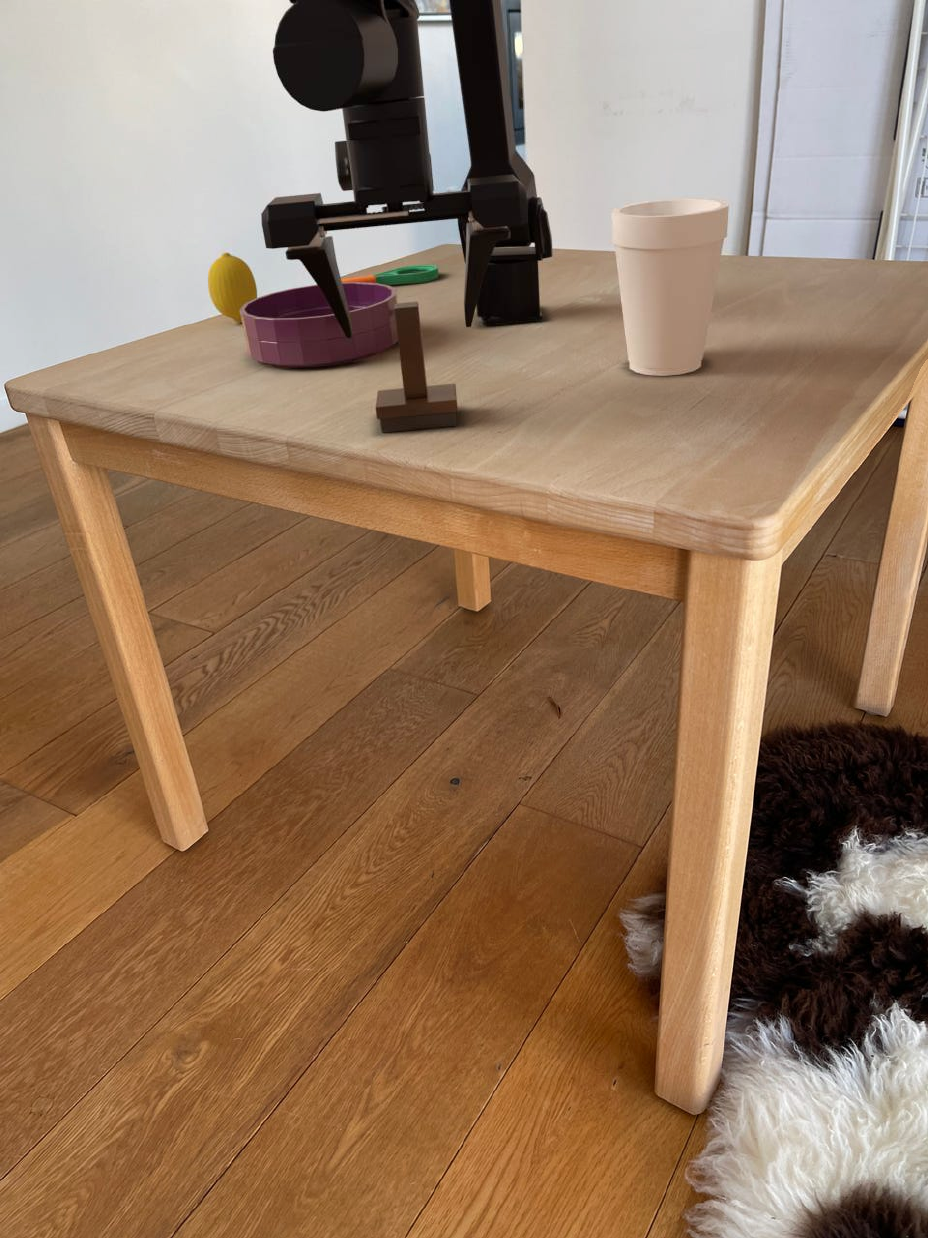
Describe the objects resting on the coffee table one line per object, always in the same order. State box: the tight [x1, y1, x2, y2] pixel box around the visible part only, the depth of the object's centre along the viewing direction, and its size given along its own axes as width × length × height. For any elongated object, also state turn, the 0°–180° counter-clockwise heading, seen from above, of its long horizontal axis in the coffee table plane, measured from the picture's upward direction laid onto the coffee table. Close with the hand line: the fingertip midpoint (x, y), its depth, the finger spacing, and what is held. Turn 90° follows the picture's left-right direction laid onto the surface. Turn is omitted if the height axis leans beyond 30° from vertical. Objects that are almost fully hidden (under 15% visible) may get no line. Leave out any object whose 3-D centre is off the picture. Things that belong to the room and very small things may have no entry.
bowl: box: [240, 282, 399, 369], centre depth 96 cm, size 16×16×5 cm
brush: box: [375, 301, 459, 434], centre depth 73 cm, size 6×4×9 cm
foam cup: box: [611, 198, 730, 377], centre depth 79 cm, size 10×9×13 cm
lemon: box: [207, 252, 258, 324], centre depth 109 cm, size 6×6×8 cm
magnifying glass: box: [341, 264, 440, 286], centre depth 123 cm, size 15×6×2 cm, turn 118°
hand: (409, 331), depth 71 cm, fingers open, 9 cm apart
